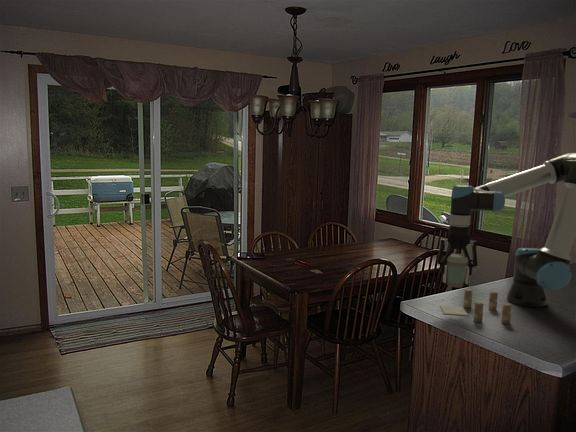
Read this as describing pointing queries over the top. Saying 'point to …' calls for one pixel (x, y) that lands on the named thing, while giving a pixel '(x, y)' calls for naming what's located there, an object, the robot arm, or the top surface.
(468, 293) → the spacer posts
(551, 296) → the top surface
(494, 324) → the top surface
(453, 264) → the coffee cup
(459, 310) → the felt mat
